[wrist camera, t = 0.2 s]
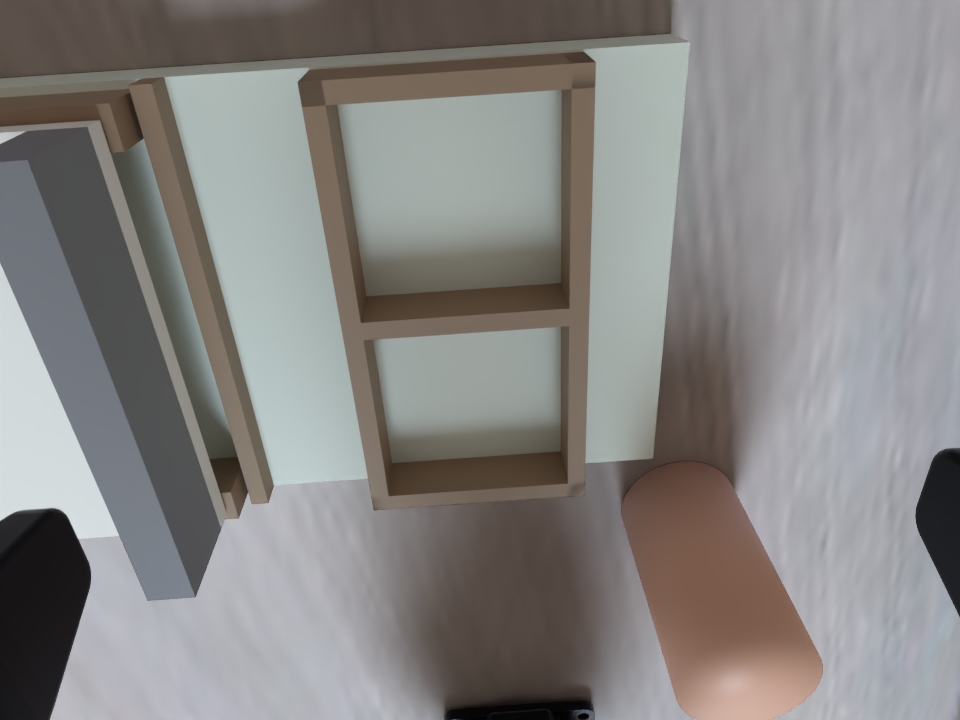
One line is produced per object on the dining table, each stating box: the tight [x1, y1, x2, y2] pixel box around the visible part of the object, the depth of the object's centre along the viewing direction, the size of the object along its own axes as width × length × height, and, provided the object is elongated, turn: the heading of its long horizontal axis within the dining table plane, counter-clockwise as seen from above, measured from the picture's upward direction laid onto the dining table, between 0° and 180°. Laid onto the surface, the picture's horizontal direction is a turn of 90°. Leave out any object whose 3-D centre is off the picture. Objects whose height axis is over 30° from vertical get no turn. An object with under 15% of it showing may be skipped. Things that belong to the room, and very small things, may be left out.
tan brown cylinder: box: [621, 461, 823, 720], centre depth 22 cm, size 4×4×7 cm
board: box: [0, 34, 690, 519], centre depth 19 cm, size 12×24×3 cm, turn 93°
